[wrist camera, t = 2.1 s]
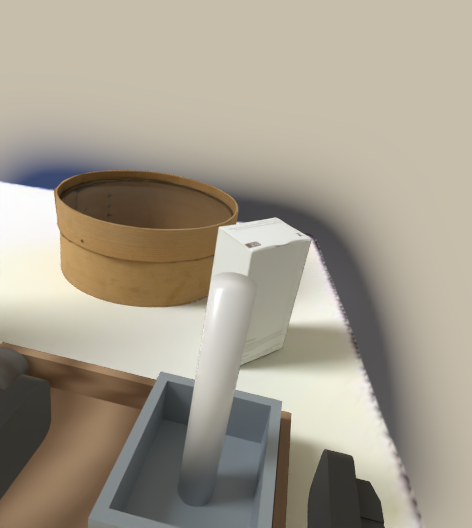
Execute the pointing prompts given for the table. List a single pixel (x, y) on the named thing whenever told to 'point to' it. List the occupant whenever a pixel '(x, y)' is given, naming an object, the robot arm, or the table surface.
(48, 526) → the bay
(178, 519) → the tray with upright post
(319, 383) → the table surface
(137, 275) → the steamer basket
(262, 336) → the skincare box
